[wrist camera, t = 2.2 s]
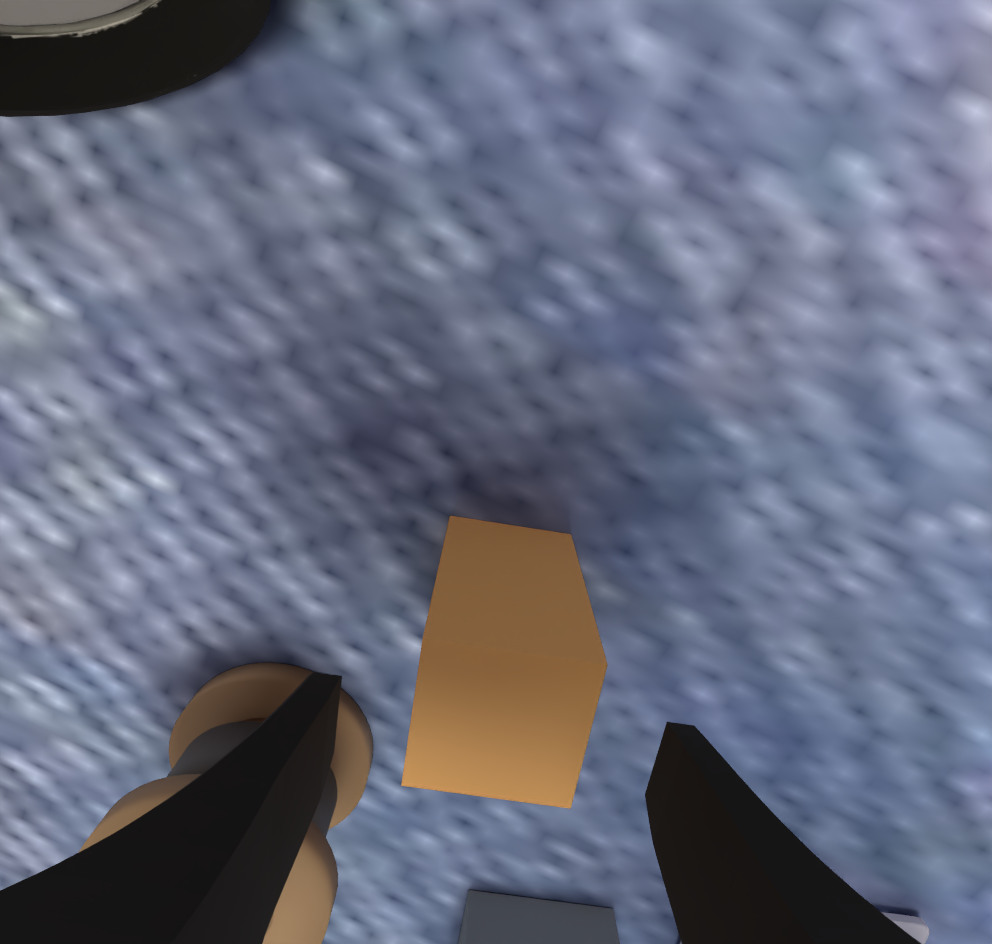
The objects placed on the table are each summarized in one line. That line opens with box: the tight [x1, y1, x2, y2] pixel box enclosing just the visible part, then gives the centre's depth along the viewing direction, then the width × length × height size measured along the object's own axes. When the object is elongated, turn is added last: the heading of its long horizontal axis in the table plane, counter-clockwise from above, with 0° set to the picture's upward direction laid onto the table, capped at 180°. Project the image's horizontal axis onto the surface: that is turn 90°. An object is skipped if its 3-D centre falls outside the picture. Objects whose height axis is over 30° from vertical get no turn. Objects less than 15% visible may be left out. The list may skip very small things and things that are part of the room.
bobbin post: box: [79, 663, 373, 944], centre depth 19 cm, size 7×7×6 cm
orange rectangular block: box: [401, 516, 607, 809], centre depth 17 cm, size 4×4×7 cm
